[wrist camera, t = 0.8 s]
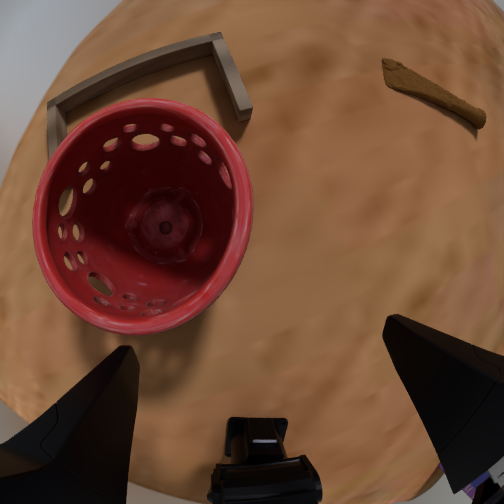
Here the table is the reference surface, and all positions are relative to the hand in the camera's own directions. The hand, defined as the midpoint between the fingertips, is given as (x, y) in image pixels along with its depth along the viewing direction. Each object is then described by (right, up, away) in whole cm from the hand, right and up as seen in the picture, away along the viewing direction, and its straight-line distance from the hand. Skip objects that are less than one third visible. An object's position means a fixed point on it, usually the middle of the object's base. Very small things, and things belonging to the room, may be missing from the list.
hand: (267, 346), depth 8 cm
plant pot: (-8, +6, +16) cm, 18 cm away
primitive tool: (+25, +25, +18) cm, 40 cm away
